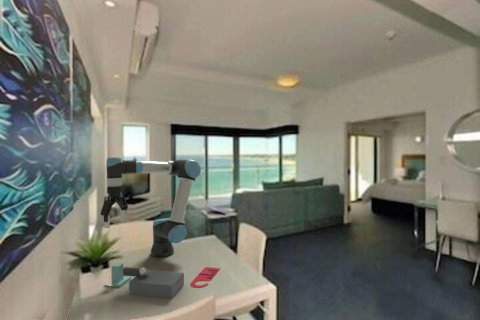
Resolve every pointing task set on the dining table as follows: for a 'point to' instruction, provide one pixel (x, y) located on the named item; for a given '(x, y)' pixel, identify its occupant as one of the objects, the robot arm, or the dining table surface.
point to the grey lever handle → (134, 272)
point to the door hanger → (204, 276)
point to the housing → (157, 284)
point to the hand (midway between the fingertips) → (115, 224)
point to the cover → (118, 275)
